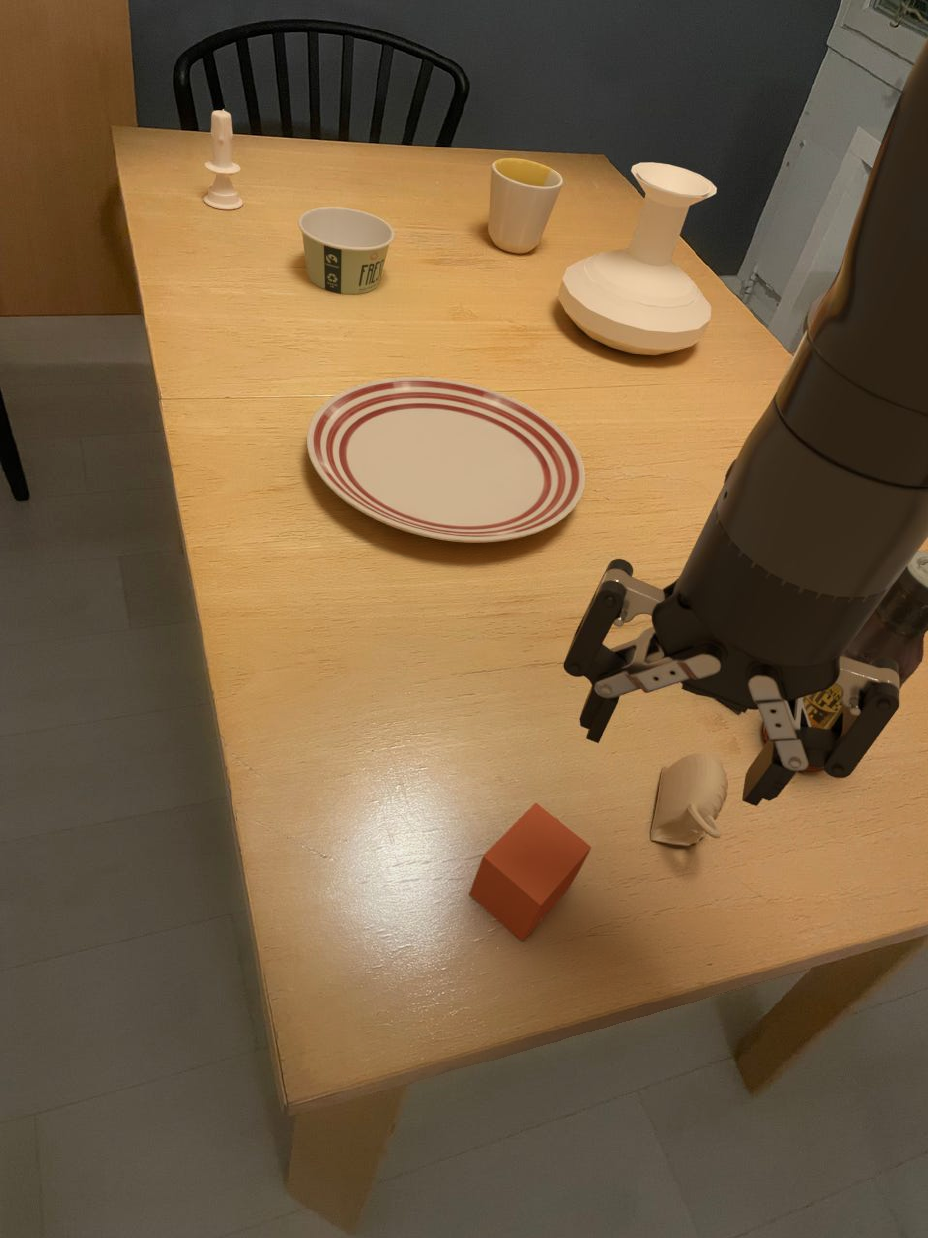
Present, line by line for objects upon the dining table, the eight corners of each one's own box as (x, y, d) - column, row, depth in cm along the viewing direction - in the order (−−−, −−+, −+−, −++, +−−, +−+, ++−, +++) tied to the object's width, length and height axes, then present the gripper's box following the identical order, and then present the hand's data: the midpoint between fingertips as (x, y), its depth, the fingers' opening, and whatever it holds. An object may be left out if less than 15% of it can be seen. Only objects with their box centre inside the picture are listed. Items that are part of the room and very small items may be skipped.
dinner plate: (310, 385, 95) (311, 357, 92) (554, 410, 100) (561, 384, 97) (299, 556, 76) (301, 527, 73) (601, 577, 81) (611, 550, 78)
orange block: (571, 884, 58) (592, 847, 55) (522, 942, 55) (541, 905, 51) (519, 841, 60) (535, 801, 56) (468, 894, 57) (482, 856, 53)
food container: (317, 247, 118) (320, 197, 113) (401, 272, 117) (407, 223, 113) (280, 281, 110) (282, 229, 105) (370, 308, 109) (376, 257, 104)
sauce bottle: (747, 712, 72) (867, 528, 58) (816, 713, 73) (949, 534, 59) (775, 780, 68) (912, 598, 54) (848, 780, 69) (1000, 603, 55)
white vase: (709, 381, 111) (773, 229, 97) (555, 354, 109) (598, 194, 95) (686, 308, 125) (739, 166, 111) (549, 283, 123) (586, 135, 109)
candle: (249, 200, 125) (248, 108, 116) (233, 213, 121) (232, 118, 113) (213, 190, 125) (210, 97, 117) (196, 203, 121) (192, 107, 113)
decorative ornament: (714, 785, 66) (742, 743, 62) (700, 878, 60) (729, 839, 57) (663, 765, 67) (687, 723, 63) (644, 856, 61) (669, 815, 57)
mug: (550, 265, 127) (568, 190, 120) (481, 255, 125) (495, 179, 118) (539, 226, 137) (555, 155, 129) (474, 216, 135) (487, 144, 128)
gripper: (621, 515, 33) (525, 762, 44) (1000, 652, 31) (798, 872, 43) (657, 420, 38) (563, 663, 50) (983, 533, 36) (808, 757, 48)
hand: (672, 759), depth 46 cm, fingers open, 8 cm apart
